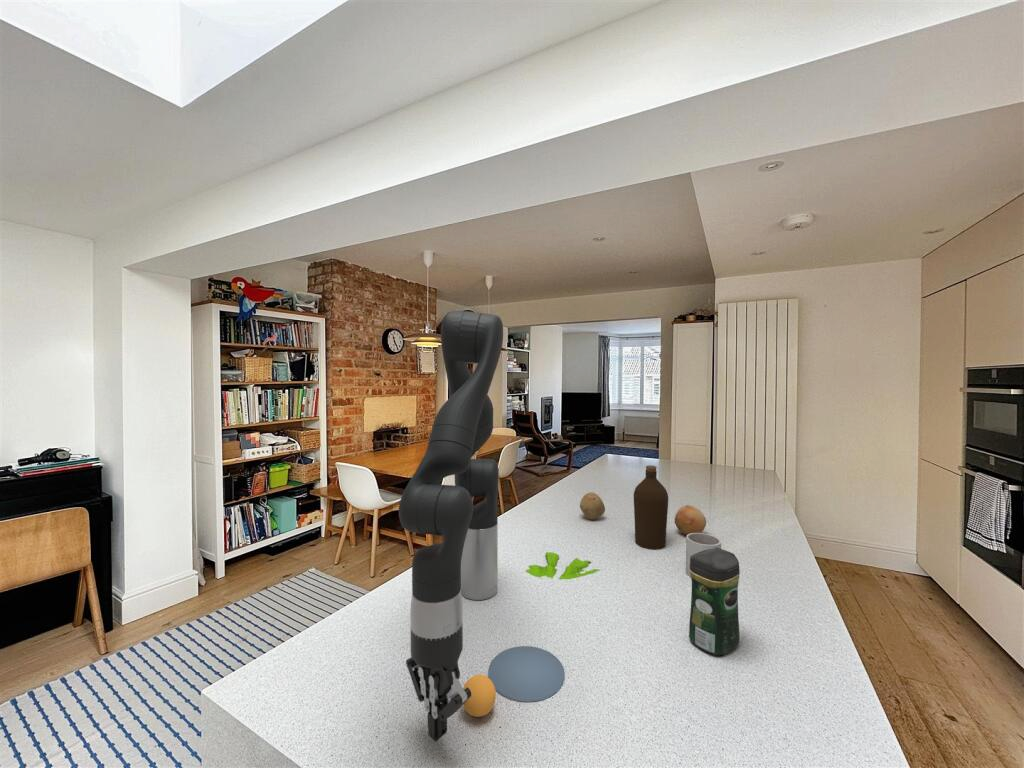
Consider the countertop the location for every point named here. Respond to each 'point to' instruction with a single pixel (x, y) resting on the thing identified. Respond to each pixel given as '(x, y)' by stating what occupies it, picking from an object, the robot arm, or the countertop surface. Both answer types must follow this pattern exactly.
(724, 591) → the coffee jar
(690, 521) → the onion
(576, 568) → the leaves
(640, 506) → the olive oil
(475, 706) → the ball
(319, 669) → the countertop surface
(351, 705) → the countertop surface
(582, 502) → the potato
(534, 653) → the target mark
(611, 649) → the countertop surface
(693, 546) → the mug
